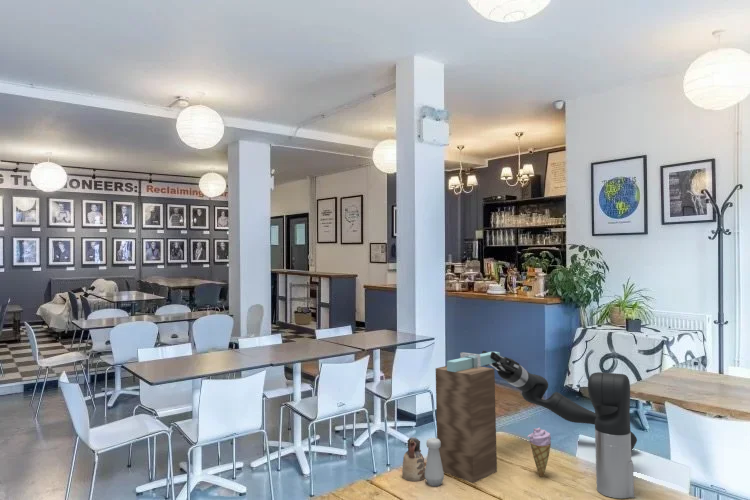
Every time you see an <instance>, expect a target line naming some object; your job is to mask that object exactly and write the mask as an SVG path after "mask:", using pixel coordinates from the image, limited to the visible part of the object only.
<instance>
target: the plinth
mask: <svg viewBox="0 0 750 500" xmlns="http://www.w3.org/2000/svg"><path fill="white" fill-rule="evenodd" d="M495 377H496V376H495V368H493V367H492V368H491V367H487V366H486V367H485V366H481V368H480V369H475V368H470V369H466V370H462V371H457V372H451V371H447V365H445V366H444V365H443V366H440V367H435V394H436V395H435V401H436V402H435V403H436V404H435V405H436V407H435V408H436V412H435V413H436V438H437V439H439V440H440V441H441V447H440V448H439V452H440V457H441V462H442V467H443V472H444V474H445V473H446V474H448V475H450V476H451V475H452V477H453V476H454V477H457V478H460V479H462V480H464V481H467V482H470V483H472V484H474V483H477V482H478V481H480V480H483V479H484V478H487V477H489V476H491V475H492V474H496V473H497V471H498V463H497V462H498V459H497V457H498V456H497V425H496V424H497V423H496V422H497V421H496V413H497V412H496V380H495V379H496V378H495Z"/></svg>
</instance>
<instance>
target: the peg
mask: <svg viewBox="0 0 750 500" xmlns="http://www.w3.org/2000/svg"><path fill="white" fill-rule="evenodd" d="M486 352H487V351H486ZM491 352H495V353H496V354H497V355H499V356H501V353H500V352H499V351H488V352H487V353H483V354H482V353H478V354H479V355H480V361H481V367H484V366H485V365H487V364H491V363H495V361H494V360H493V359H491V358H490V356H491ZM446 366H447V371H451V372H457V371H462V370H466V369H470V368H474V361H473V357H468V356H467V357H464V358H461V357H459V358H455V359H450V360H446Z"/></svg>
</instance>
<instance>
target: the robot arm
mask: <svg viewBox="0 0 750 500" xmlns="http://www.w3.org/2000/svg"><path fill="white" fill-rule="evenodd" d="M490 352H491V356H490V358H491V359H493V360H494V361H495V363H491V364H487V365H484V367H485V366H486V367H488V366H491V367H492V368H493V369H494V370H496V371H497V374H498V376H499V377H500V378H501V379H502V380H504V381H505V382H507V383H508V384H510V385H511V386H514V387H515V388H516V389H518V390H519V391H521V395H522V398H523V399H524V400H525V401H526V402H527V403H530V404H533V405H536V406H539V407H543V408H545V409H547V410H549V411H551V412H552V413H554V414H555V415H557V416H559V417H560V418H561V419H563V420H565V421H568V422H571V423H578V424H589V425H594V441H595V443H594V444H595V445H594V446H595V448H594V449H595V470H596V472H595V473H596V476H595V477H596V478H595V479H596V491H597V492H598V493H599V494H601V495H603V496H606V497H609V498H614V499H628V498H631V499H632V498H633V499H634V498H635V483H634V482H635V481H634V463H633V460H632V451H633V450H632V449H634V448H635V446H636V444H637V441H638V439H637V436H636V435H635V434H634V433H633V432H632V431H631V417H630V416H631V410H630V409H631V383H630V379H629V377H628V376H627V375H626V374H623V373H614V372H601V371H600V372H598V371H597V372H593V373H591V374H590V375H589V378H588V381H587V393H588V396H589V400H590V402H591V405H592V407H593V409H594V411H592V410H590V409H587V408H585V407H584V406H581V405H579V404H578V403H576V402H574V401H572V400H571V399H570V398H567V396H565V395H563V394H561V393H560V392H557V391H555V392H553V393H552V394H551V395H550V396H549V397H548V398H547V399H543V398H544V396H545V394H546V392H547V390H548V388H549V382H548V380H547V379H546V377H543V376H541V375H538V374H532V373H530V372H529V371H528V370H526V368H524V366H522V365H521V364H520V363H518V362H517V361H516V360H514V359H513V358H509V357H506V356H505V357H503V356H502V355H500V356H499V355H497V354H496V353H495V352H496V351H493V352H492V351H490ZM483 353H487V351H486V350H482V351H481V354H483Z"/></svg>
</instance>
